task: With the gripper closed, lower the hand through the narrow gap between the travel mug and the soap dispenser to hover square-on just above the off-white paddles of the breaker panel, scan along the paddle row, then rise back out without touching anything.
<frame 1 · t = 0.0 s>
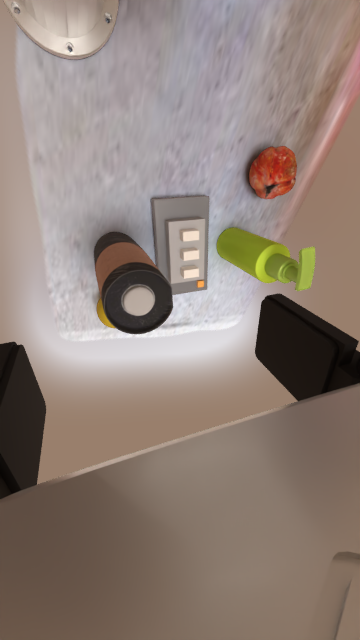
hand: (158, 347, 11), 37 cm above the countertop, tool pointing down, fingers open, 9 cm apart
travel mug: (116, 253, 45), on the countertop
soap dispenser: (230, 240, 50), on the countertop
breaker panel: (179, 246, 48), on the countertop
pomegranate: (260, 172, 46), on the countertop
lemon: (111, 299, 48), on the countertop
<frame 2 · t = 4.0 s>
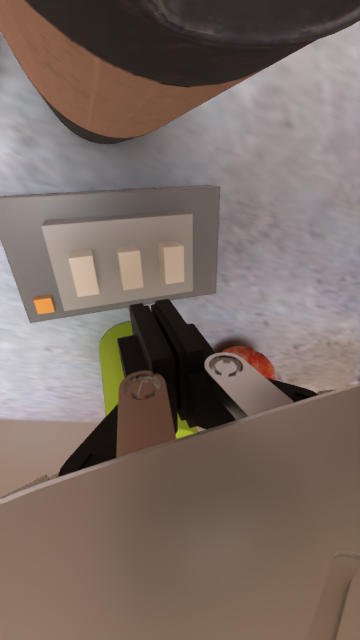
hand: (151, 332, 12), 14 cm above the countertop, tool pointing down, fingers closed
travel mug: (97, 79, 18), on the countertop
soap dispenser: (133, 344, 28), on the countertop
breaker panel: (120, 249, 23), on the countertop
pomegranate: (227, 360, 33), on the countertop
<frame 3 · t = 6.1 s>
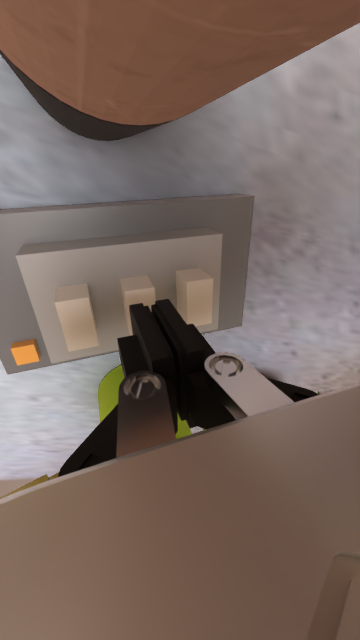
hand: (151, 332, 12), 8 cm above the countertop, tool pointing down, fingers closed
travel mug: (94, 51, 13), on the countertop
soap dispenser: (139, 386, 23), on the countertop
breaker panel: (125, 275, 18), on the countertop
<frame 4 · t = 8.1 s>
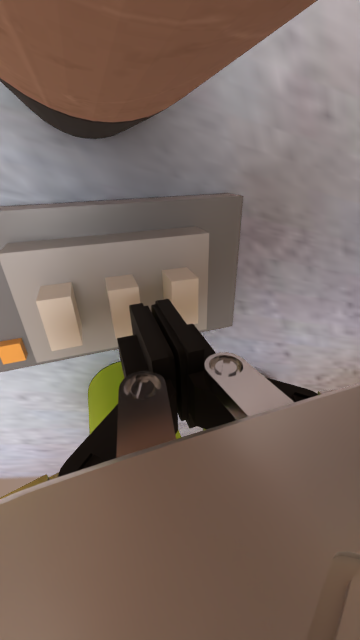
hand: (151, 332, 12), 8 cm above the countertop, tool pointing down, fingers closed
travel mug: (79, 48, 13), on the countertop
soap dispenser: (130, 385, 23), on the countertop
breaker panel: (113, 274, 18), on the countertop
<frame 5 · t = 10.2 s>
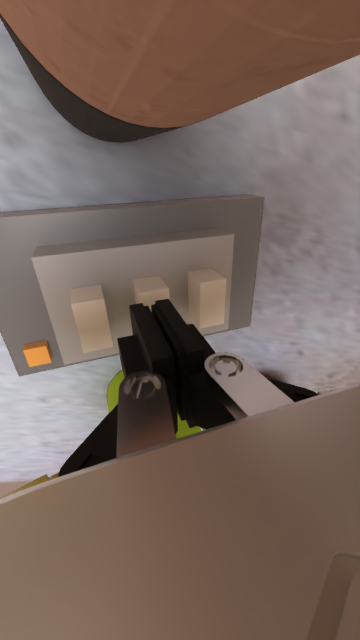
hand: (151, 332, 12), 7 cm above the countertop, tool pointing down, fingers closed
travel mug: (107, 53, 13), on the countertop
soap dispenser: (147, 386, 23), on the countertop
breaker panel: (134, 276, 18), on the countertop
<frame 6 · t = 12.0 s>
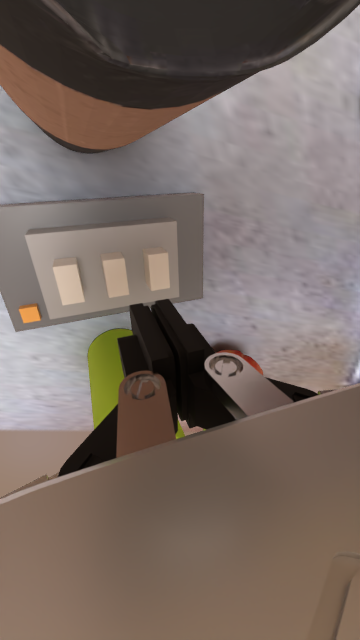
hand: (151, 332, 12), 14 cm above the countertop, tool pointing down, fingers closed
travel mug: (79, 90, 18), on the countertop
soap dispenser: (122, 351, 28), on the countertop
breaker panel: (107, 256, 23), on the countertop
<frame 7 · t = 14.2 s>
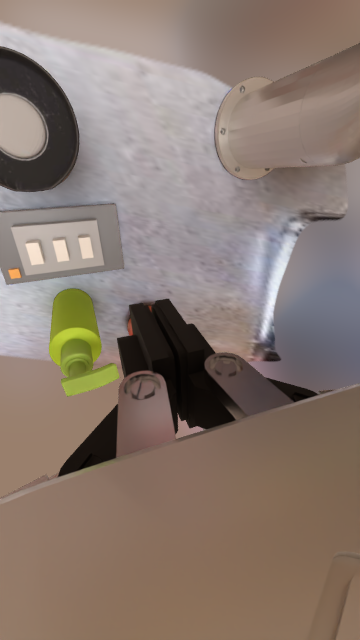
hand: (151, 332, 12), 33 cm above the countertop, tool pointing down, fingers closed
travel mug: (40, 150, 33), on the countertop
soap dispenser: (76, 304, 44), on the countertop
breaker panel: (61, 241, 39), on the countertop
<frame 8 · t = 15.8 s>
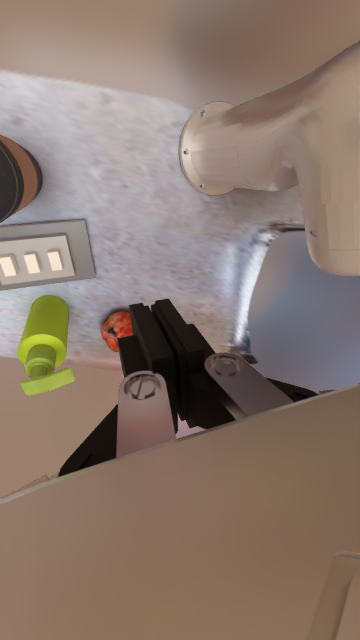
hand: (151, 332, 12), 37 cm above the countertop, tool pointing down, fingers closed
travel mug: (13, 173, 37), on the countertop
soap dispenser: (53, 309, 47), on the countertop
breaker panel: (37, 253, 42), on the countertop
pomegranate: (120, 322, 53), on the countertop
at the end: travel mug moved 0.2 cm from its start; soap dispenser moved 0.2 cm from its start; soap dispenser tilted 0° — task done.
